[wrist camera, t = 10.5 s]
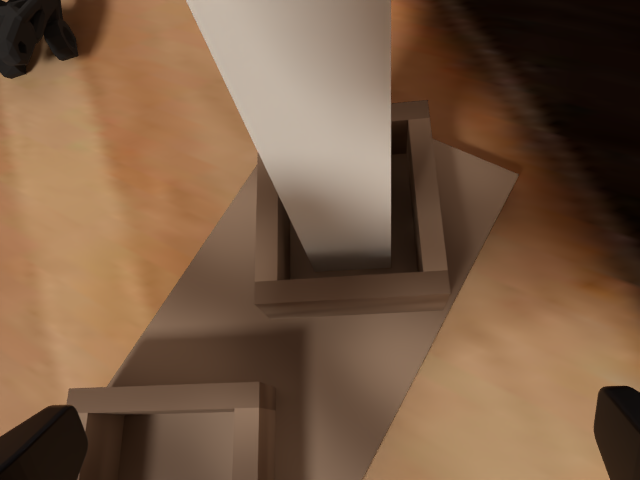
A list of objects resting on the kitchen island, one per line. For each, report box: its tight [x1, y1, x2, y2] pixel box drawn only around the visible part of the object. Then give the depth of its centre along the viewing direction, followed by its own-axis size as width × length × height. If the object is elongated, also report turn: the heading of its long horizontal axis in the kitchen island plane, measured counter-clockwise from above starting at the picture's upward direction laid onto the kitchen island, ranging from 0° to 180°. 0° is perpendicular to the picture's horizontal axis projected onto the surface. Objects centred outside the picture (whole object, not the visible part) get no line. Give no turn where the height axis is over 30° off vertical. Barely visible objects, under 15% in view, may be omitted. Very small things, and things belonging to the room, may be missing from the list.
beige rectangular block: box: [186, 0, 391, 272], centre depth 14 cm, size 4×3×15 cm
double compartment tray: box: [67, 100, 519, 480], centre depth 18 cm, size 22×10×4 cm, turn 149°
